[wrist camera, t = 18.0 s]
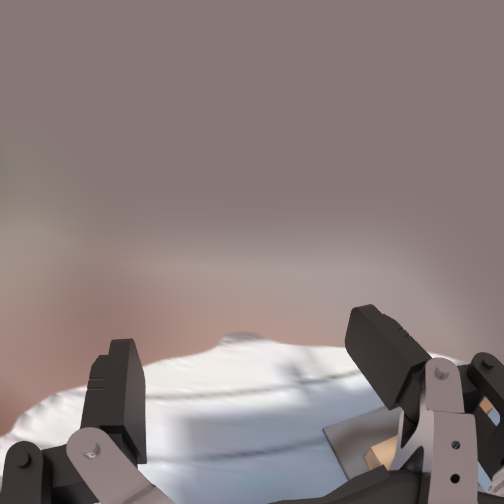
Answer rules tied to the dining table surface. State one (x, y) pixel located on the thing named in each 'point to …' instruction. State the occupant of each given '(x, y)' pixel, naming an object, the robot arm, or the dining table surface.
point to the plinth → (366, 441)
